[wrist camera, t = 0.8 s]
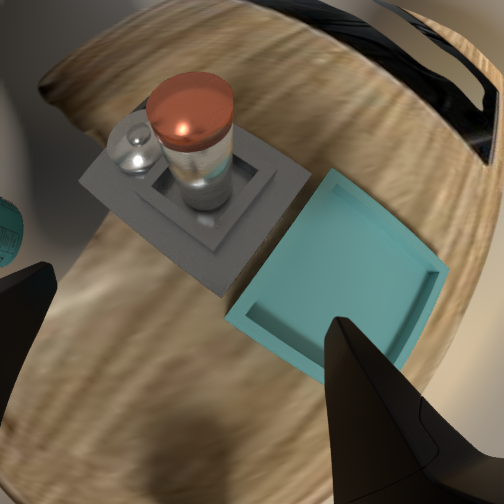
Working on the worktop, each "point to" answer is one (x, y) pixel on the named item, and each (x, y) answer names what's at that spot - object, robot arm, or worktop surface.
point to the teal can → (9, 232)
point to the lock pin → (195, 135)
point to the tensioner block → (184, 216)
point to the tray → (341, 280)
